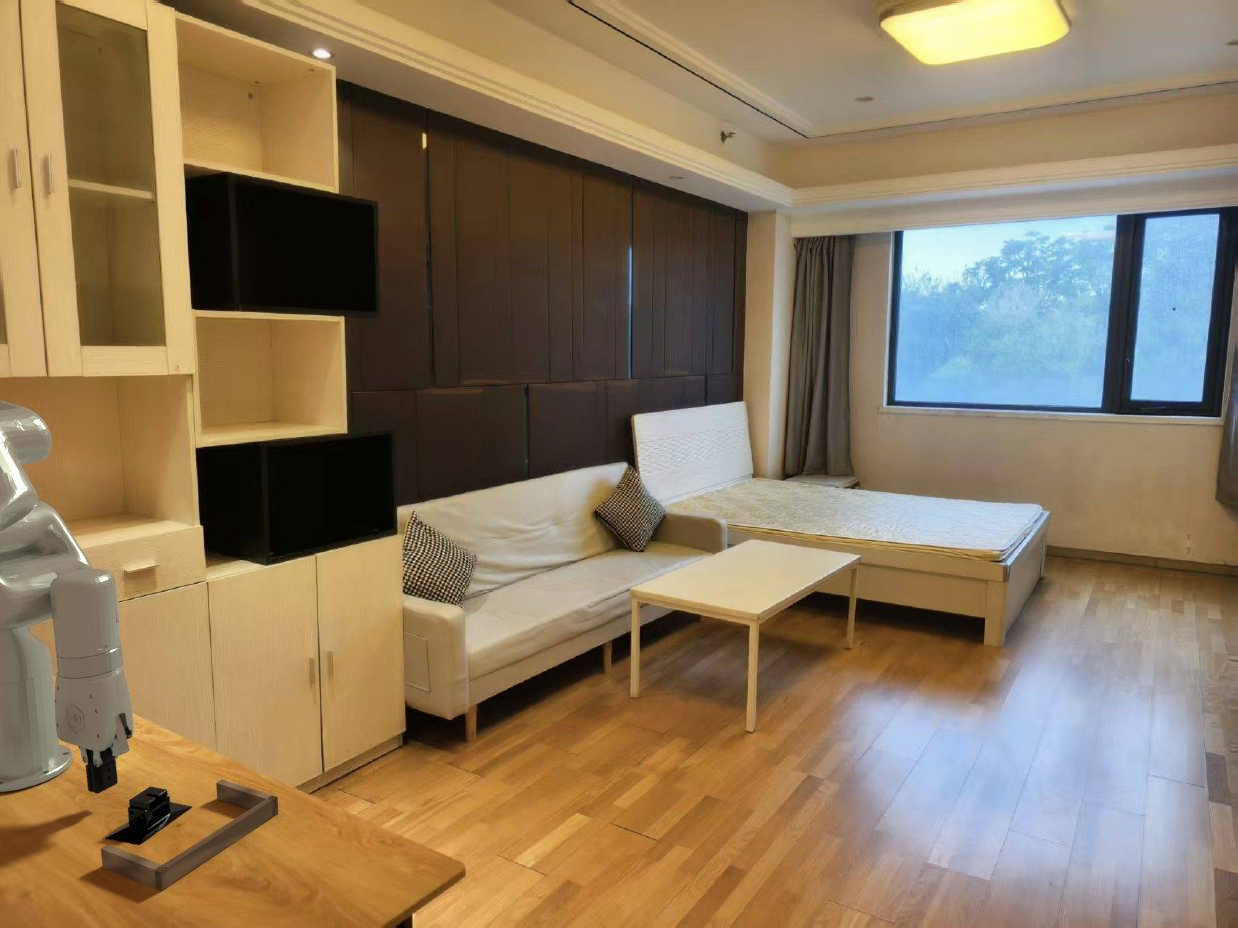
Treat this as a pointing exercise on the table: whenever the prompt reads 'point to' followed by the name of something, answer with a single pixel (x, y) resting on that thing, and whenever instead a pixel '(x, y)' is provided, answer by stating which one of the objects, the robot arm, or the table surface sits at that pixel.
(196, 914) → the table surface
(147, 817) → the build plate
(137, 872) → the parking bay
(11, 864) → the table surface
